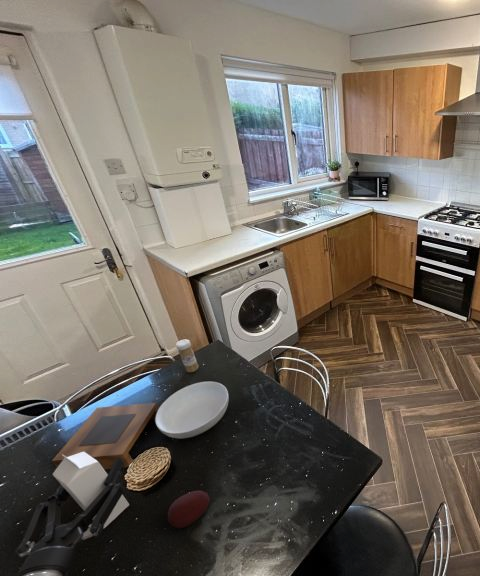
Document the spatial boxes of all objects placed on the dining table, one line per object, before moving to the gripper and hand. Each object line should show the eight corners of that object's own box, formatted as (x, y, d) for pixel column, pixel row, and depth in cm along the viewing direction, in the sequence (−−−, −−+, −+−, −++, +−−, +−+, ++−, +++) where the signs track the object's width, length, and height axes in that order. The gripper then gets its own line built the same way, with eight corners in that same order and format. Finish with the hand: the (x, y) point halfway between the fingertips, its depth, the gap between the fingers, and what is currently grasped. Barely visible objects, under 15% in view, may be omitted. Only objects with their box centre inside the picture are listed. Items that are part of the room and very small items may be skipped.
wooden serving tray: (62, 473, 88) (51, 460, 85) (104, 419, 103) (96, 407, 100) (130, 466, 90) (122, 454, 87) (162, 414, 105) (156, 402, 102)
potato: (175, 506, 81) (167, 493, 78) (213, 493, 83) (207, 481, 81) (169, 538, 75) (160, 526, 72) (210, 523, 77) (203, 511, 74)
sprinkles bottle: (188, 374, 122) (178, 348, 115) (184, 369, 124) (173, 342, 118) (201, 368, 125) (191, 342, 118) (196, 363, 127) (186, 337, 121)
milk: (116, 494, 83) (78, 442, 72) (130, 505, 81) (93, 452, 70) (89, 518, 78) (44, 465, 67) (103, 529, 76) (59, 477, 65)
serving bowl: (242, 395, 113) (238, 381, 110) (214, 448, 95) (208, 434, 91) (186, 393, 113) (180, 380, 110) (146, 447, 95) (138, 432, 92)
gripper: (-20, 609, 58) (54, 486, 77) (114, 568, 63) (152, 463, 82) (-47, 593, 54) (38, 468, 73) (98, 551, 59) (142, 445, 78)
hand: (98, 465), depth 77 cm, fingers closed on milk, 8 cm apart
